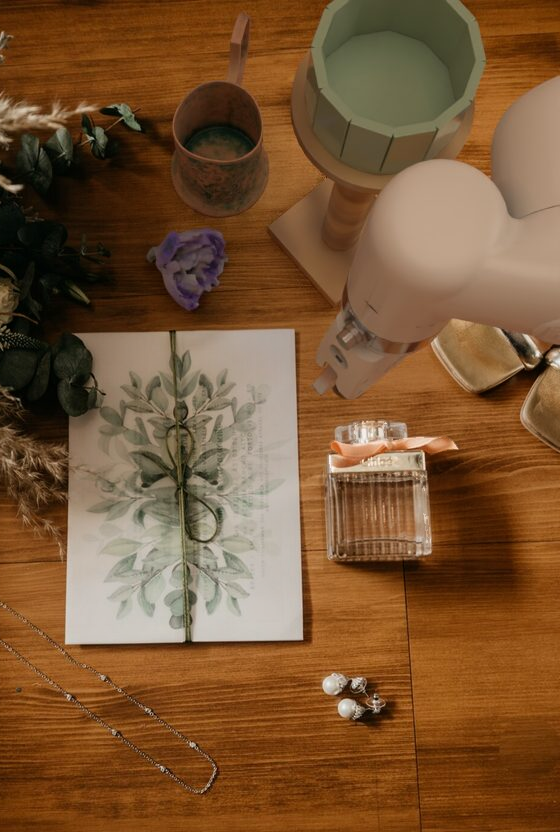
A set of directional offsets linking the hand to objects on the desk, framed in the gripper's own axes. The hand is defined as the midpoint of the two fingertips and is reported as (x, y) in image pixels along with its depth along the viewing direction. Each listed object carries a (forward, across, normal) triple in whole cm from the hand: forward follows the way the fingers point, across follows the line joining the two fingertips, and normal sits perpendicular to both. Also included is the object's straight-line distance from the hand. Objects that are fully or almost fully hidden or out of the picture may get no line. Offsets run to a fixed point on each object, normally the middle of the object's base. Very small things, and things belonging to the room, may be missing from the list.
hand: (359, 364), depth 67 cm
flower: (+15, -5, +22) cm, 27 cm away
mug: (+15, +10, +32) cm, 36 cm away
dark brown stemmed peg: (+7, 0, 0) cm, 7 cm away
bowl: (-11, +13, +14) cm, 22 cm away
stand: (+15, +12, +14) cm, 24 cm away
